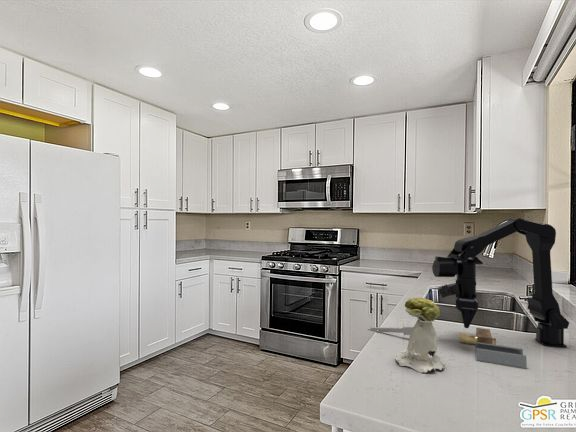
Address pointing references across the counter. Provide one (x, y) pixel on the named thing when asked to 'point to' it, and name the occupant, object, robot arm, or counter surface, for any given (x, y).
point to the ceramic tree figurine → (421, 337)
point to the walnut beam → (484, 336)
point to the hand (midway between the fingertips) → (466, 324)
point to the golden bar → (470, 339)
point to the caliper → (393, 330)
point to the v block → (501, 355)
